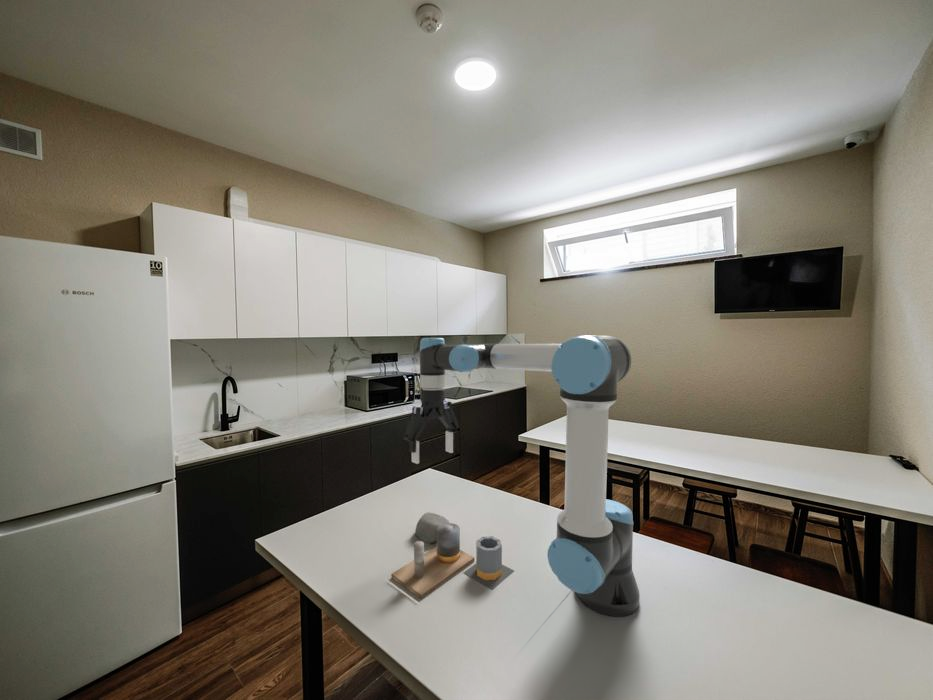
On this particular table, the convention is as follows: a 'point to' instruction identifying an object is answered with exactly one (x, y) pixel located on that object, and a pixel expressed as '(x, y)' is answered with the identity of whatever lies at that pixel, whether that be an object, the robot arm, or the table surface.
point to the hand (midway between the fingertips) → (433, 457)
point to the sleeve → (489, 558)
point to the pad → (489, 583)
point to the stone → (429, 527)
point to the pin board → (434, 562)
